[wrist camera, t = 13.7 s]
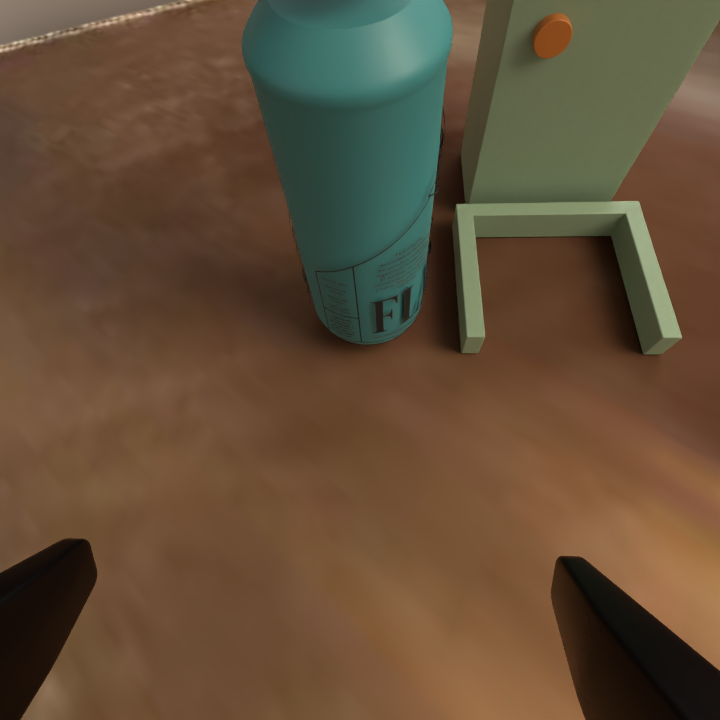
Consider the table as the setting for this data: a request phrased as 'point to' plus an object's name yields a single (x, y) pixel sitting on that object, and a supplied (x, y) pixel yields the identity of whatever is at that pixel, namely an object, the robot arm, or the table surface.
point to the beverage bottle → (355, 147)
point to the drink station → (571, 136)
